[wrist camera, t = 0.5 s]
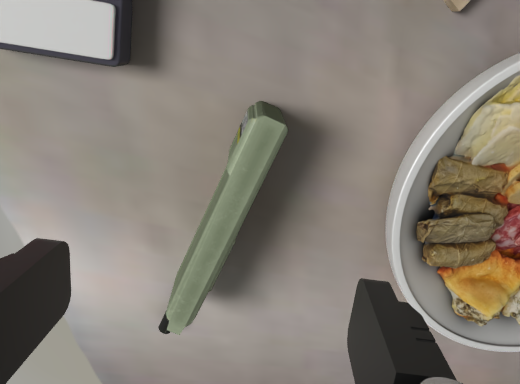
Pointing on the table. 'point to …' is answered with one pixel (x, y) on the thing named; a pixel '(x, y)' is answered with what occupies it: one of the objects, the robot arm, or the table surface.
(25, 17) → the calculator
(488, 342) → the bowl
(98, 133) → the table surface
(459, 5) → the rail board
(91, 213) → the table surface
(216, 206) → the handheld radio
